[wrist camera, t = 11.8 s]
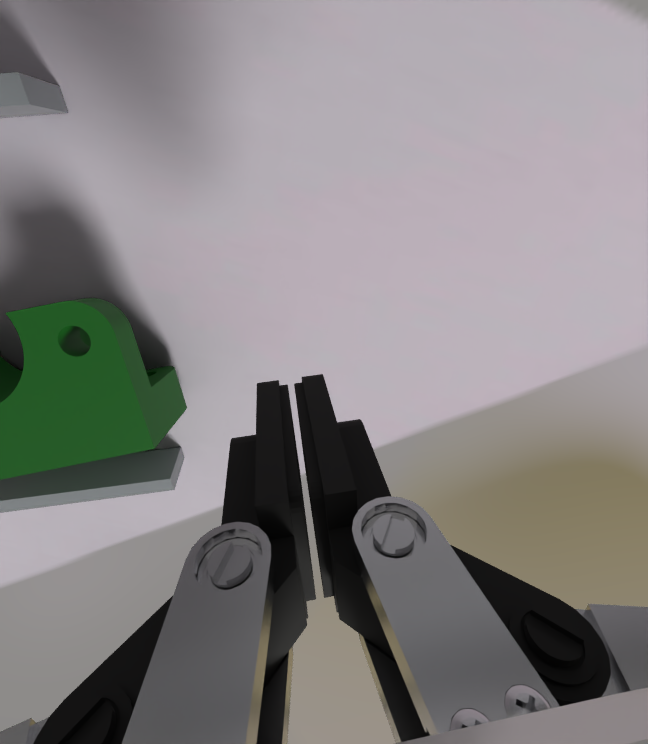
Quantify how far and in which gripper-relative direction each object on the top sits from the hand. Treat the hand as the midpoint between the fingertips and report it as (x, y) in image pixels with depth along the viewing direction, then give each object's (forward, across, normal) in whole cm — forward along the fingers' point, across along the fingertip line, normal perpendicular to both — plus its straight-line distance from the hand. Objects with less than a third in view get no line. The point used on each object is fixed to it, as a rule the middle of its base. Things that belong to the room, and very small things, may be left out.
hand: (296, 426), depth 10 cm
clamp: (+10, +11, +2) cm, 15 cm away
